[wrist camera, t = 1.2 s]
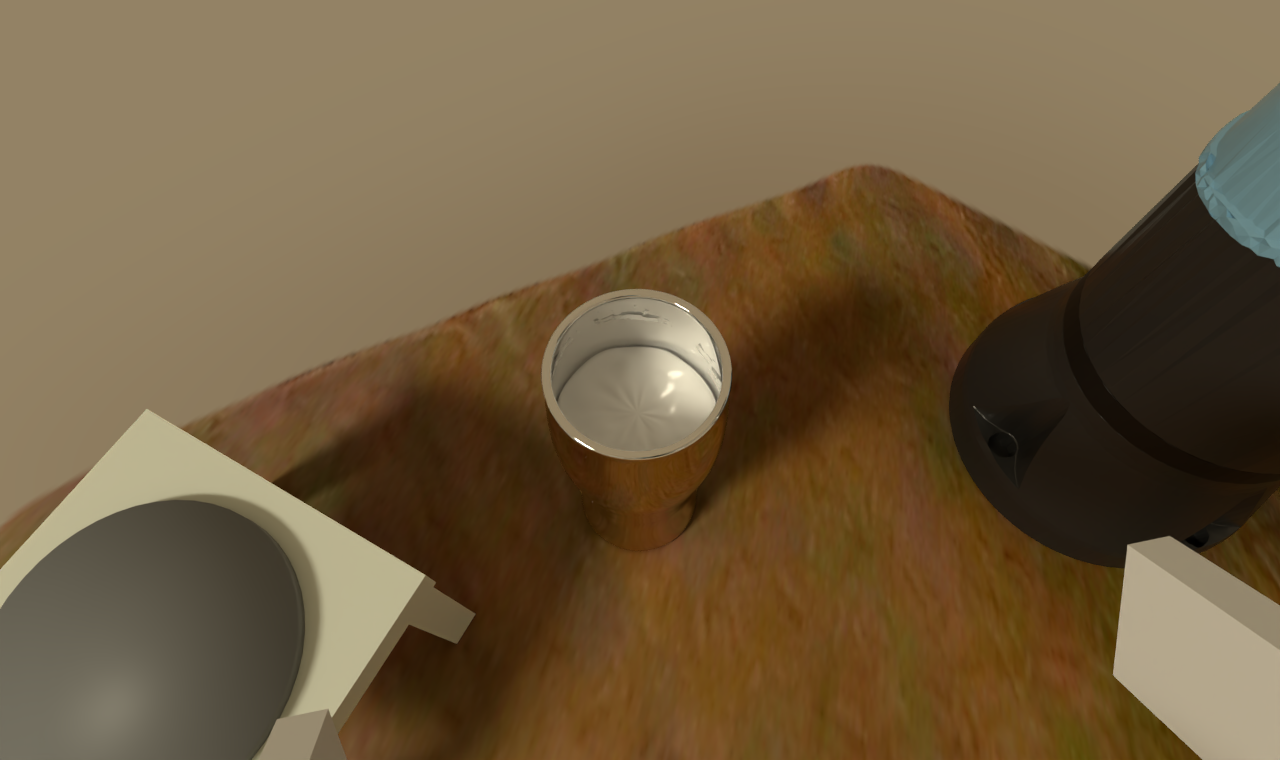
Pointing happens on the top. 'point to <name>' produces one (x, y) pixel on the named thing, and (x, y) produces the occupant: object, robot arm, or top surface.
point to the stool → (192, 611)
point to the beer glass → (637, 411)
